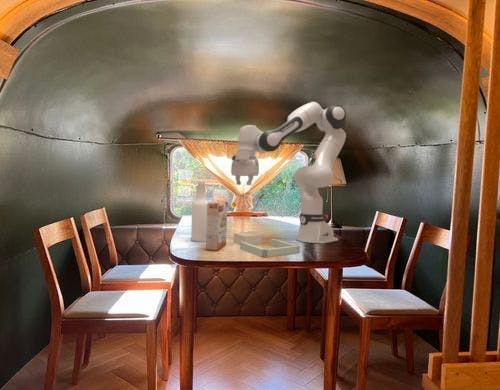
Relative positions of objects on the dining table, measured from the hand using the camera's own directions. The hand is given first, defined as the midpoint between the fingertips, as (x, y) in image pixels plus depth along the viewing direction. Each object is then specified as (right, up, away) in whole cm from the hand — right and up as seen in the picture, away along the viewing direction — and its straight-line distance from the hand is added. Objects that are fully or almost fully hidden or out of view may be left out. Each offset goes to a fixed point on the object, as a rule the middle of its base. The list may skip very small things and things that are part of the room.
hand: (243, 184), depth 170 cm
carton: (+2, -29, -2) cm, 29 cm away
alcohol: (-22, -28, +1) cm, 35 cm away
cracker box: (-12, -29, -14) cm, 34 cm away
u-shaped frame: (+12, -30, -17) cm, 37 cm away
